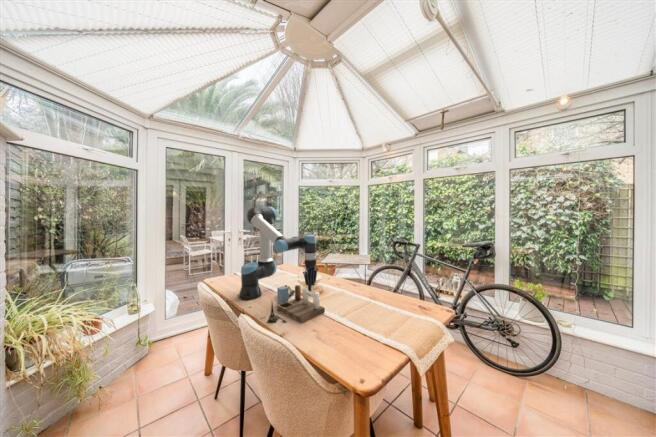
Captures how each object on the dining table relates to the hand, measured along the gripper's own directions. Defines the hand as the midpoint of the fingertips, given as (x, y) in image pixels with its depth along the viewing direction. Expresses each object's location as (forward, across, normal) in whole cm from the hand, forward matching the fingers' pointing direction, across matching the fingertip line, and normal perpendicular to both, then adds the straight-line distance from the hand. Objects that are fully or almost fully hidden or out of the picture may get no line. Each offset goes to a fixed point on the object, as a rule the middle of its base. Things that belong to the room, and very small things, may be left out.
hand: (310, 294), depth 154 cm
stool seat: (+7, -10, 0) cm, 12 cm away
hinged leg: (+4, -5, -4) cm, 8 cm away
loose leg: (+7, -8, +17) cm, 20 cm away
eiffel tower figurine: (+8, -27, +6) cm, 29 cm away
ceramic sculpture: (+8, +3, +25) cm, 26 cm away
